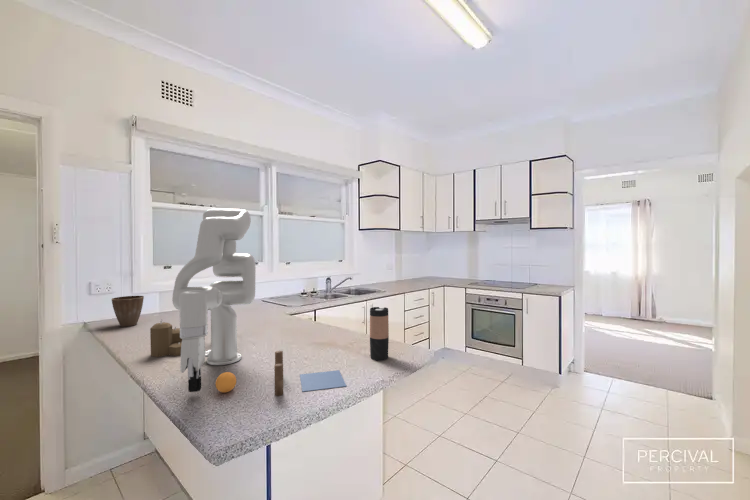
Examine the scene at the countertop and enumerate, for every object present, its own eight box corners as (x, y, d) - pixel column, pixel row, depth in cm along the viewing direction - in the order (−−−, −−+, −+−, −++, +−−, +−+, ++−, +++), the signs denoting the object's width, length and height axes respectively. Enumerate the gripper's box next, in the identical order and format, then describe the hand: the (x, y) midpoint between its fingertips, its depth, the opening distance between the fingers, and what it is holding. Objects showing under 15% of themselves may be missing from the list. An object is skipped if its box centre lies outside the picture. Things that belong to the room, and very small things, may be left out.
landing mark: (302, 391, 105) (302, 391, 105) (299, 375, 118) (299, 374, 118) (346, 386, 108) (346, 385, 108) (339, 370, 122) (339, 370, 122)
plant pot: (104, 328, 185) (104, 299, 185) (128, 321, 200) (128, 295, 200) (128, 329, 183) (127, 300, 182) (150, 322, 197) (150, 295, 197)
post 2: (274, 396, 101) (274, 367, 101) (274, 392, 104) (274, 364, 104) (283, 395, 102) (283, 366, 102) (283, 391, 105) (283, 363, 104)
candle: (153, 360, 134) (153, 323, 133) (148, 352, 144) (147, 317, 143) (191, 353, 143) (191, 318, 142) (183, 345, 153) (183, 313, 152)
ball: (213, 397, 101) (213, 377, 101) (217, 388, 107) (217, 370, 107) (235, 394, 103) (234, 375, 103) (237, 386, 109) (237, 368, 109)
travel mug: (375, 362, 130) (375, 311, 130) (366, 356, 137) (366, 307, 137) (392, 359, 134) (392, 309, 133) (383, 353, 141) (382, 306, 140)
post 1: (275, 379, 114) (274, 353, 114) (275, 376, 117) (275, 351, 116) (283, 378, 115) (282, 352, 115) (283, 375, 117) (282, 350, 117)
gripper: (187, 326, 108) (188, 382, 109) (172, 338, 94) (173, 403, 94) (212, 324, 110) (213, 379, 111) (201, 336, 96) (202, 400, 96)
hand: (194, 390), depth 103 cm, fingers closed
